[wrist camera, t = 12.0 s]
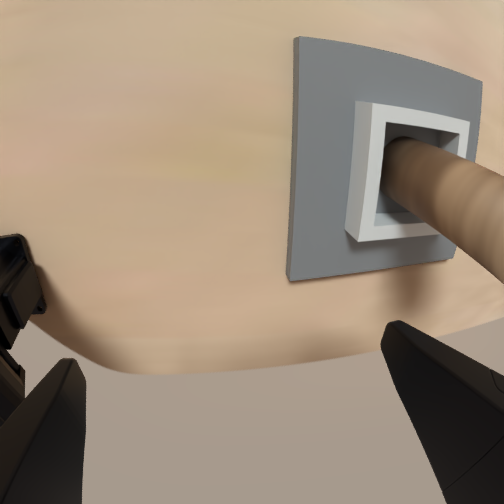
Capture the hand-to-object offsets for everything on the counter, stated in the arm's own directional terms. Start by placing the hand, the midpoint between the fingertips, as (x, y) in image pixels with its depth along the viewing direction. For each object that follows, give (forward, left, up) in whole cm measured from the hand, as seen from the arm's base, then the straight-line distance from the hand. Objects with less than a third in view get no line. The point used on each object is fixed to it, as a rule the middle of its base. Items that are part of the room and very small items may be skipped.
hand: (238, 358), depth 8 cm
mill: (+13, +2, -12) cm, 18 cm away
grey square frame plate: (+13, +2, -13) cm, 19 cm away
